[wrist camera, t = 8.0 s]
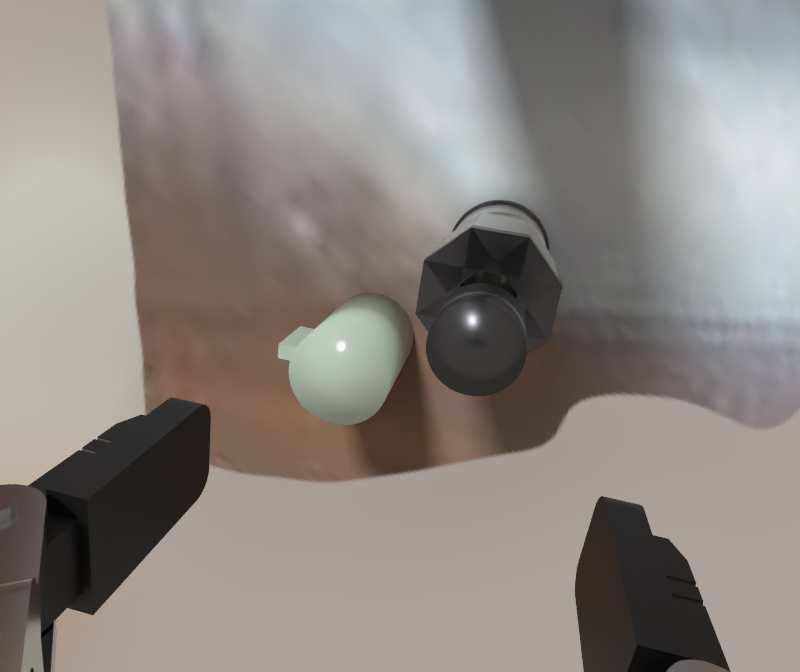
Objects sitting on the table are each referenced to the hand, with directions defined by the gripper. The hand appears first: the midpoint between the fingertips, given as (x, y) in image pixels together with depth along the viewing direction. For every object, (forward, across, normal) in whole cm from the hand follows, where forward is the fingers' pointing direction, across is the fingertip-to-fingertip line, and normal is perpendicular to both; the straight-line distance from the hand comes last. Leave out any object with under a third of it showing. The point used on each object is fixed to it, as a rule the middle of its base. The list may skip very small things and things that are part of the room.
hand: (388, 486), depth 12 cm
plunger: (+24, -1, +1) cm, 24 cm away
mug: (+31, +7, +8) cm, 33 cm away
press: (+31, -1, +1) cm, 31 cm away
